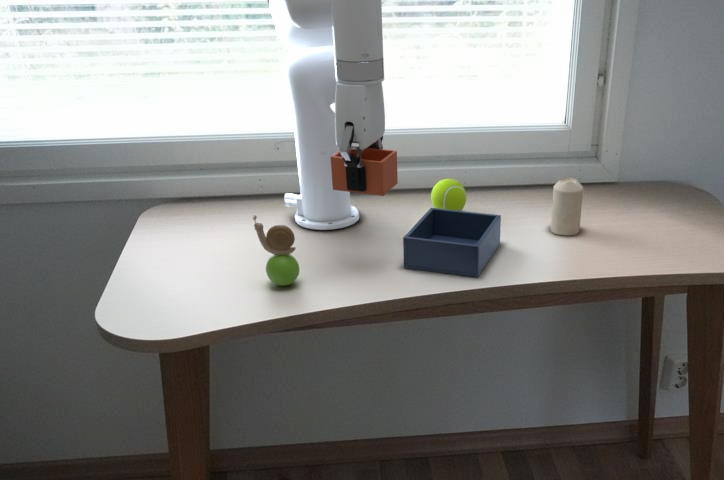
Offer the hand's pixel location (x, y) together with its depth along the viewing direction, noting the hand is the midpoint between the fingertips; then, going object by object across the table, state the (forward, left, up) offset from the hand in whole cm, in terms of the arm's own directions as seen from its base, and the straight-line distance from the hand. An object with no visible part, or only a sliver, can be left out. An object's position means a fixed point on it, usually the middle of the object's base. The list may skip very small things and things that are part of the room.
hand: (365, 182), depth 138 cm
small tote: (0, 0, -1) cm, 1 cm away
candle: (+30, +26, -15) cm, 42 cm away
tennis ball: (+6, +28, -15) cm, 32 cm away
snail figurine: (-11, -12, -15) cm, 22 cm away
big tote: (+13, +8, -15) cm, 21 cm away
